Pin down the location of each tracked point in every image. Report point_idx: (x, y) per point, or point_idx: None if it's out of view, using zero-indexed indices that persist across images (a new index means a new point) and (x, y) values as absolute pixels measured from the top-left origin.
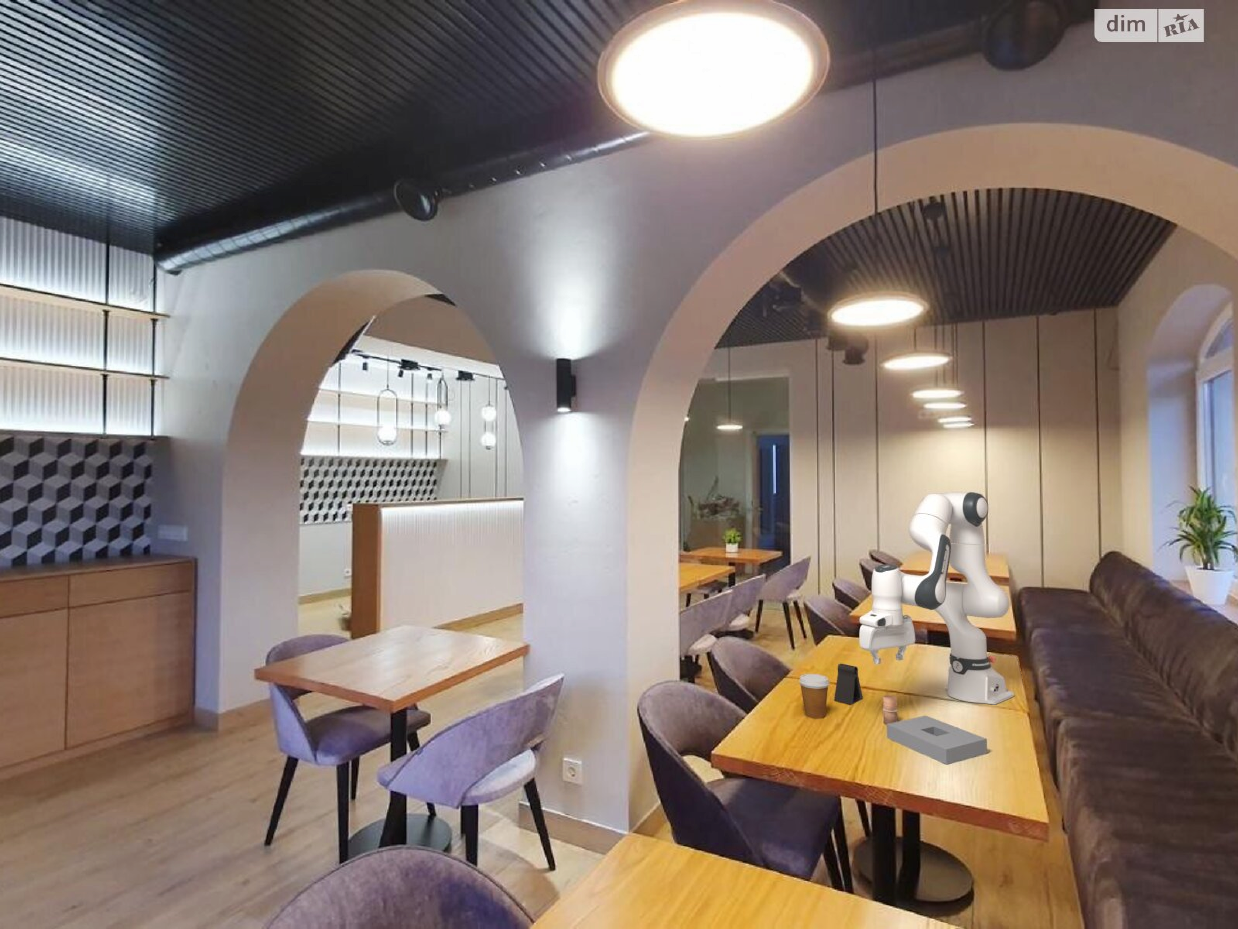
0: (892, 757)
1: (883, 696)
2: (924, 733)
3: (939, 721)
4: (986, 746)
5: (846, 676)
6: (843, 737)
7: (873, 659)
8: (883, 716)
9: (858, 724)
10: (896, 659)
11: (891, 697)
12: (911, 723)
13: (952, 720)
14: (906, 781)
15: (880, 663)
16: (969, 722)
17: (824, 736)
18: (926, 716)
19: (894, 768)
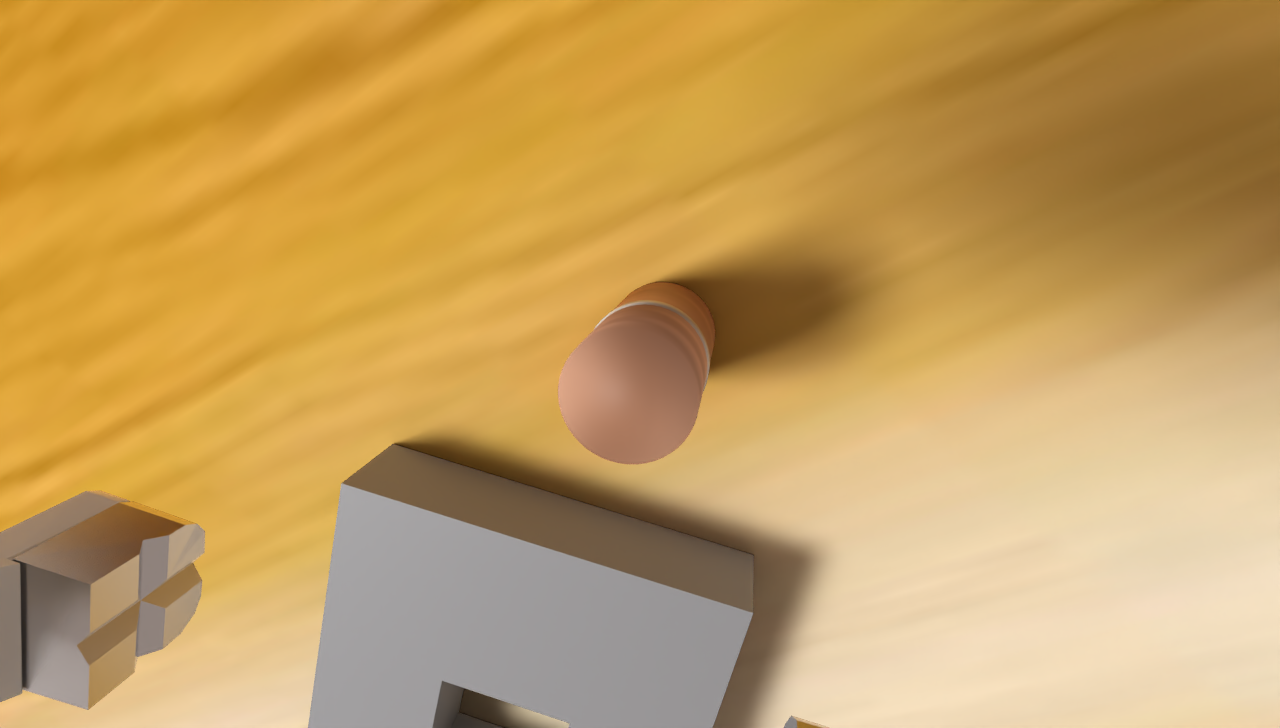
0: None
1: (606, 336)
2: (403, 719)
3: (701, 722)
4: None
5: None
6: (170, 238)
7: (25, 527)
8: (625, 299)
9: (451, 172)
10: (789, 723)
11: (639, 411)
12: (498, 601)
13: (1087, 626)
14: (43, 717)
15: (182, 614)
16: (1129, 720)
17: (75, 137)
18: (733, 626)
19: None
